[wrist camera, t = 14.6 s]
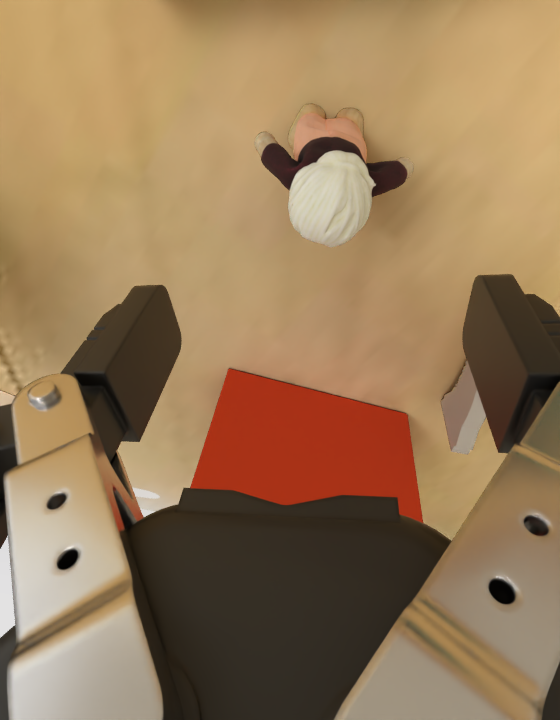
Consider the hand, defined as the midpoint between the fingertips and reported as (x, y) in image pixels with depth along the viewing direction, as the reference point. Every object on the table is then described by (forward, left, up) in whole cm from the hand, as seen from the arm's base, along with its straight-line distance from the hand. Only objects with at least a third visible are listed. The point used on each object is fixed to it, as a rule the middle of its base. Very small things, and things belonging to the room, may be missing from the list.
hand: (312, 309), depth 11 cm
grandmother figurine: (0, 0, -19) cm, 19 cm away
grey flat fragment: (+11, -18, -19) cm, 28 cm away
